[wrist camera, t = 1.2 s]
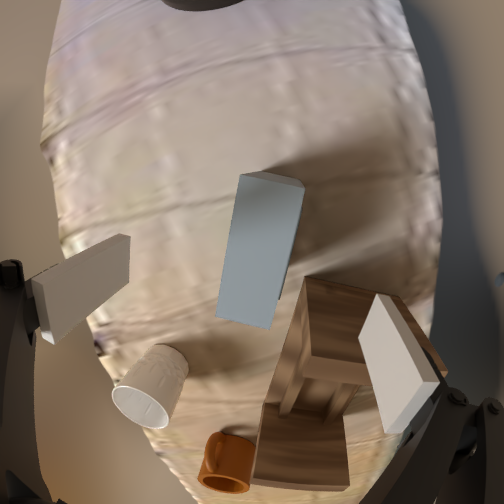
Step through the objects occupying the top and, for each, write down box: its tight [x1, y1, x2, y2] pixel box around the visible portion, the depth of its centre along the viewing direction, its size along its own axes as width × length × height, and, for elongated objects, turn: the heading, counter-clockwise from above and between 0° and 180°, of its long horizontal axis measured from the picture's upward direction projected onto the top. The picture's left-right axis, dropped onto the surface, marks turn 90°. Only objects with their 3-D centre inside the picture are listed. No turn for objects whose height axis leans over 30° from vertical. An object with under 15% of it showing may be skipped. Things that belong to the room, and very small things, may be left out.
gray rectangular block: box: [215, 171, 305, 330], centre depth 24 cm, size 10×4×12 cm, turn 169°
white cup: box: [112, 345, 189, 429], centre depth 33 cm, size 8×8×10 cm
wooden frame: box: [249, 276, 448, 491], centre depth 27 cm, size 22×12×14 cm, turn 169°
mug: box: [198, 432, 256, 494], centre depth 38 cm, size 9×12×9 cm
